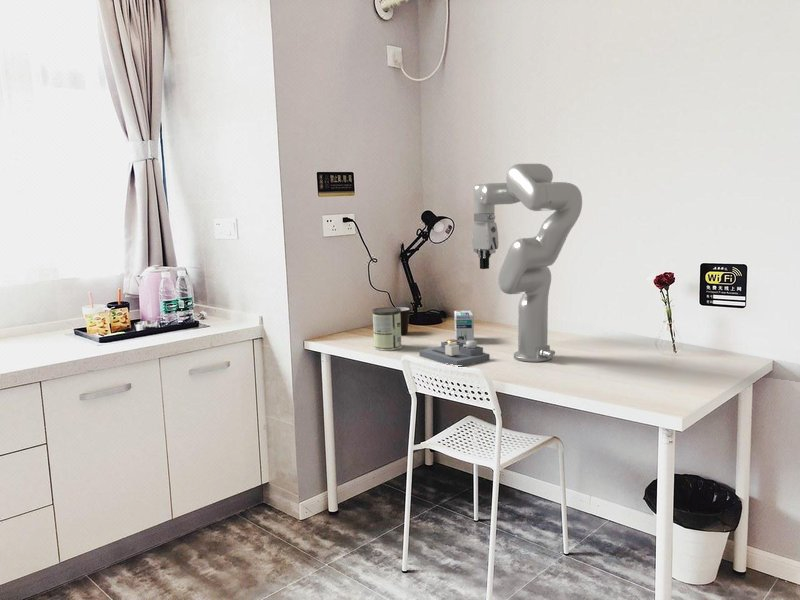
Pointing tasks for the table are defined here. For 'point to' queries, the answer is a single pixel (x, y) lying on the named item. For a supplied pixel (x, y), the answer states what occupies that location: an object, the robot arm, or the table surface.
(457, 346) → the slider
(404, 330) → the coffee mug
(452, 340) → the copper button
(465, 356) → the panel
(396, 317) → the coffee can
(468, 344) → the grey button
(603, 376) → the table surface
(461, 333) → the light bulb box
